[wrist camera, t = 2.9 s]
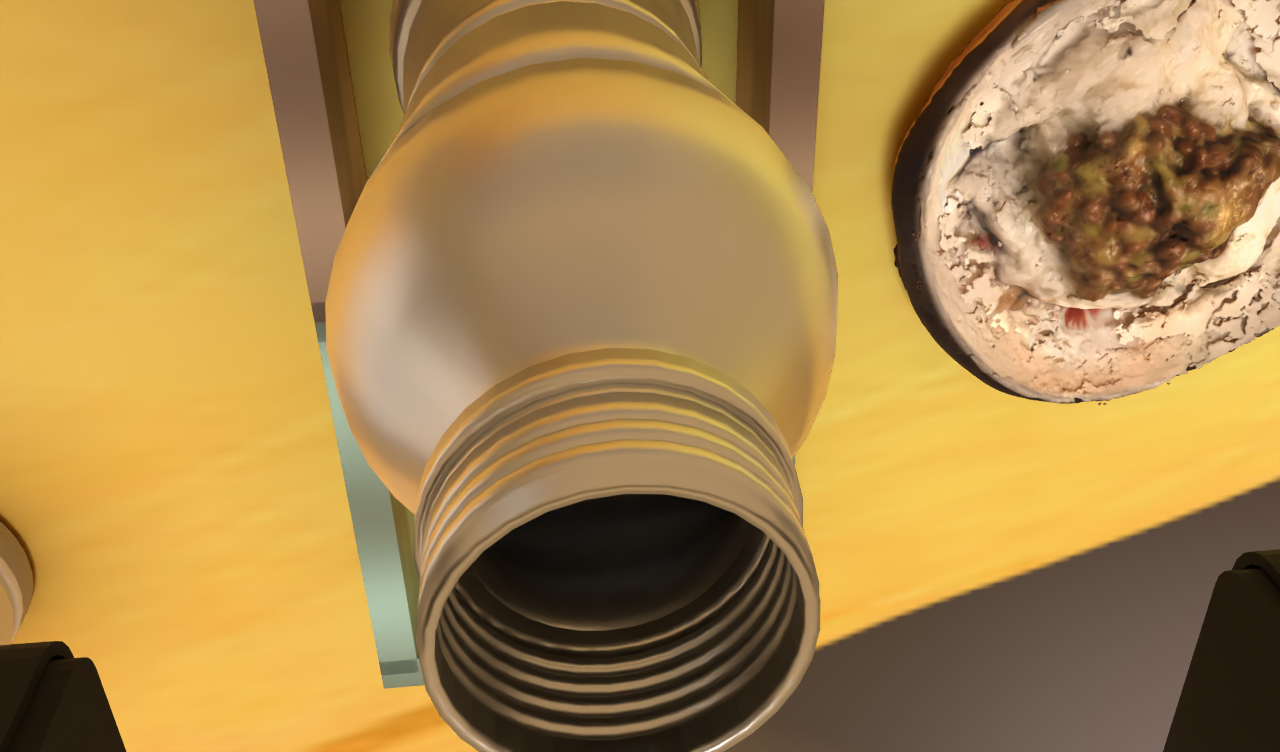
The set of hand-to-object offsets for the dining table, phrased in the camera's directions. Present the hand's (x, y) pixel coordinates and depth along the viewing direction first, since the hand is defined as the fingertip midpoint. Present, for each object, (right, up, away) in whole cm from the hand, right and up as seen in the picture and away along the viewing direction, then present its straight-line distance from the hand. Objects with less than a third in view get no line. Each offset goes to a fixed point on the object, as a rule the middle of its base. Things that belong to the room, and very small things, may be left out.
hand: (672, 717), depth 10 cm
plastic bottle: (-3, +11, +17) cm, 21 cm away
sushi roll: (+12, +9, +21) cm, 26 cm away
